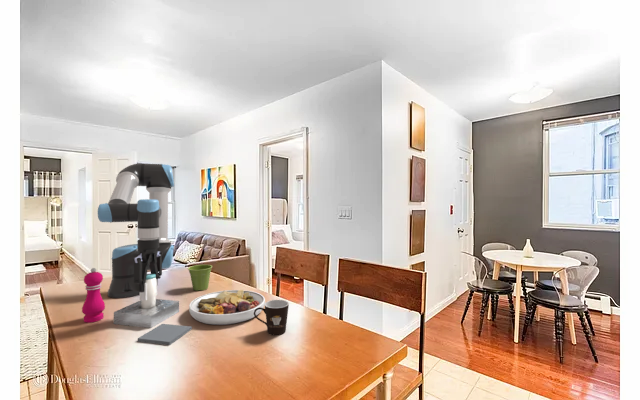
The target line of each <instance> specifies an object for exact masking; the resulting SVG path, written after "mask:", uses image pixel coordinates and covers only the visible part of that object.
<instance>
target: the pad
mask: <svg viewBox="0 0 640 400" xmlns="http://www.w3.org/2000/svg"><path fill="white" fill-rule="evenodd" d="M192 329H193V326H189V325H179V324H168V323H161V324H158V325H157V326H156V327H154V328H152V329H151V330H149V331H147V332H145V333H144V334H143V335H141V336H138V337H137V342H141V343H150V344H158V345H167V346H171V345H172V344H173V343H175V342H176V341H178V340H179V339H180V338H182V337H183V336H184V335H186V334H187V333H189V332H190V331H191V330H192Z"/></svg>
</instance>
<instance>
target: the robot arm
mask: <svg viewBox="0 0 640 400" xmlns="http://www.w3.org/2000/svg"><path fill="white" fill-rule="evenodd" d="M115 179H116V180H115V182H116V184H115V186H114V189H113V191H112V194H111V195H110V197H109V199H108V200H109V201H108V203H107V202H105V203H100V204H99V205H98V207H97V219H98V221H99V222H101V223H110V224H111V223H127V222H128V223H130V222H131V223H132V222H137V241H136V242H137V243H133V244H127V245H121V246H118V247H115V248H114V249H113V250H112V254H111V281H110V284H109V288H108V289H107V297H108V298H112V299H120V298H121V299H123V298H130V297H134V296H139V301H140V300H147V283H145V282H146V276H147V274H148V271H150V274H156V297H157V296H158V286H159V280H160V279H161V276H163V270H165V269H169V268H171V267H172V264H173V263H172V262H173V256H174V250H175V247H174V246H175V245H173V244H172V241H170V239H168V236H169V234H168V232H169V231H168V229H169V227H168V226H169V221H168V219H169V218H168V217H169V213H168V212H169V193H170V192H171V191H172V188H173V187H175V182H174V175H173V169H172V166H171V165H169V164H163V163H141V162H140V163H139V162H138V163H133V164H130V165H128V166H125V168H123V169H121V170H120V171H119V172H118V174H117V175H116V178H115ZM137 187H145V190H146V191H147V192H148V193H149V199H147V198H145V199H139V200H137V203H131V201H132V198H133V194H134V192H135V189H136V188H137Z"/></svg>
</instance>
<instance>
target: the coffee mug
mask: <svg viewBox="0 0 640 400" xmlns="http://www.w3.org/2000/svg"><path fill="white" fill-rule="evenodd" d="M289 305H290V302H289V301H287V300H284V299H272V300H268V301H265V305H264V308H261V307H259V308H256V309H255V311H254V316H255V317H254V318H255V319H257V320H258V321H259V322H261V323H262V324H264V325H266V330H267V335H270V336H282V335H284V334H285V333H286V331H287V329H286V328H287V322H288V314H289V313H288V312H289ZM258 309H261V310H262V311H263V312H264V315H265V320H266V321H265V320H263V319H261V318H259V317H258V315H256V314H255V312H256V311H257V310H258Z"/></svg>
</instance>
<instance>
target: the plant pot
mask: <svg viewBox="0 0 640 400" xmlns="http://www.w3.org/2000/svg"><path fill="white" fill-rule="evenodd" d="M212 268H213V265H211V264H197V265H196V264H195V265H192V266H189V267H188V268H187V270H188V271H189V275H190V281H191V285H192V289H193V291H196V292H197V291H204V290H205V291H206V290H207V289H209V284H210V283H209V282H210V278H211V271H212Z"/></svg>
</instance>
